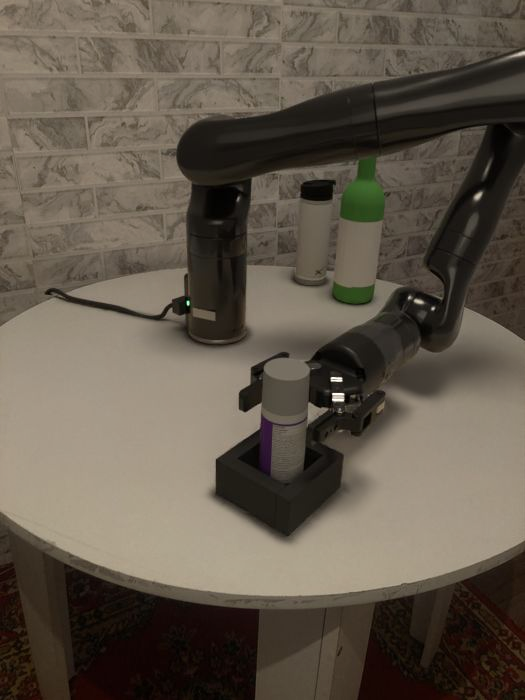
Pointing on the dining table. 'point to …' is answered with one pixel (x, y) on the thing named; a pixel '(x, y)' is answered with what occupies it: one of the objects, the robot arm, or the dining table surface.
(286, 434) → the container
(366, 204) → the wine bottle
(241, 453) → the black square frame
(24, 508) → the dining table surface
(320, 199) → the travel mug
